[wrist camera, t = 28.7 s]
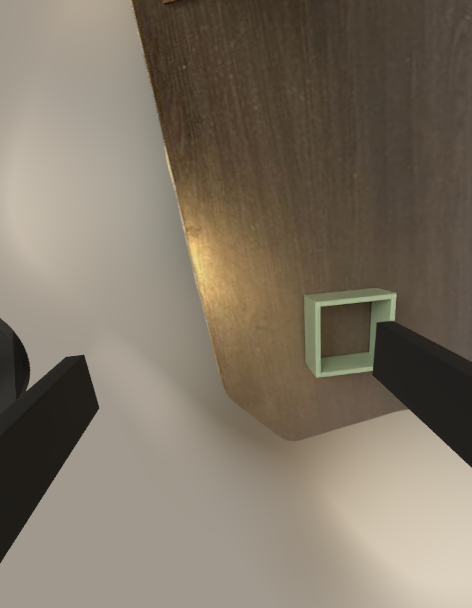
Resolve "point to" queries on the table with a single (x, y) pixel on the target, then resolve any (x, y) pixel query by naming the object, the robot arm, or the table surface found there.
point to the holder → (325, 366)
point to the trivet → (166, 0)
